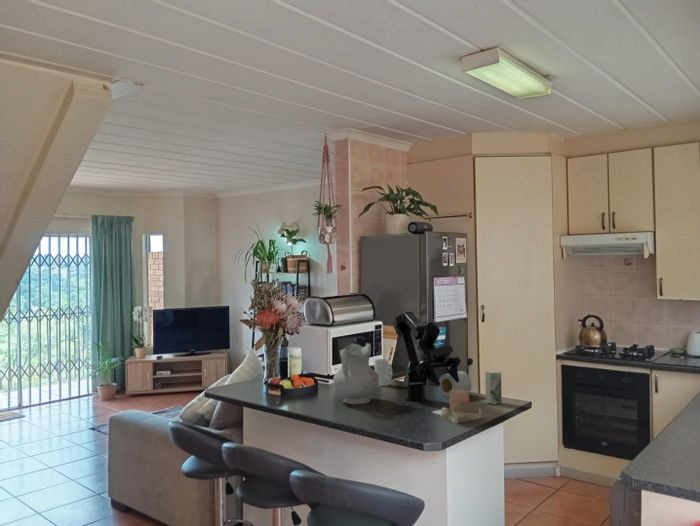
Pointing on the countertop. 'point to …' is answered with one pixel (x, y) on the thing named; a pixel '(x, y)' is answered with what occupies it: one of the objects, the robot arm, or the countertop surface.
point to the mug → (383, 371)
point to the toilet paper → (454, 383)
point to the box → (493, 387)
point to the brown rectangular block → (458, 397)
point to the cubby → (463, 412)
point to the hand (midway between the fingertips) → (449, 383)
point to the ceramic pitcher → (356, 375)
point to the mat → (438, 412)
